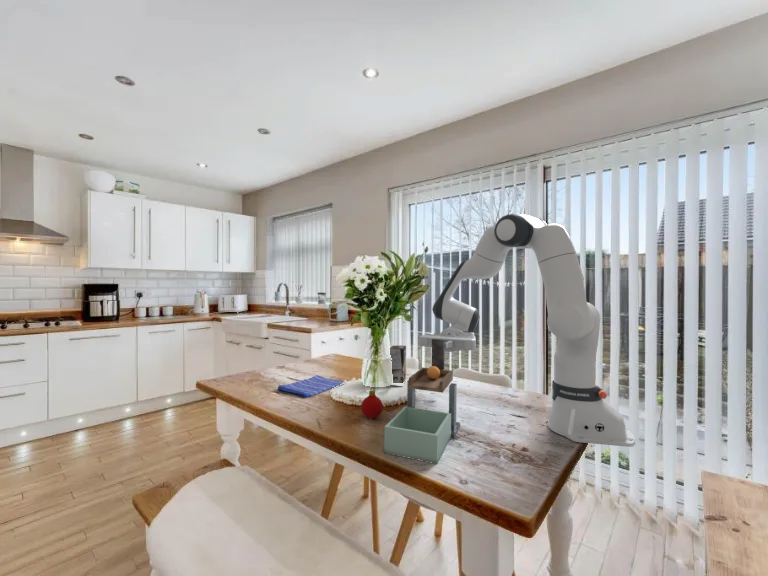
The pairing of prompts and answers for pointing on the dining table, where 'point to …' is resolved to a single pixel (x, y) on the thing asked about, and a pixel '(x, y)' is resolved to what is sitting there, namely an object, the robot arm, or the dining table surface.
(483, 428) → the dining table surface
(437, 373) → the ball
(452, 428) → the lever stand
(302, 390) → the dish towel
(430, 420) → the tub
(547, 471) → the dining table surface
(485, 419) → the dining table surface
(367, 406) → the christmas ornament
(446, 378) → the lever tray
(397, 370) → the coffee box
